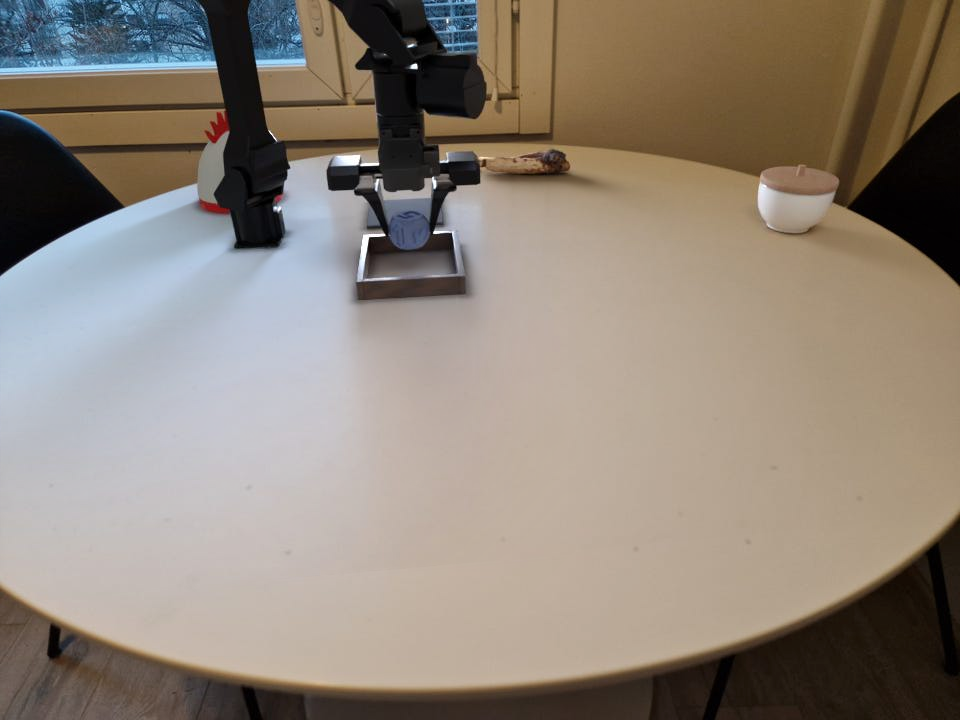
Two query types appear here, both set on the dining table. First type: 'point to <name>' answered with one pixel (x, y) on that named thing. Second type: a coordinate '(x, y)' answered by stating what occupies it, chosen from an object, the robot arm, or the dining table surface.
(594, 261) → the dining table surface
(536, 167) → the overripe banana
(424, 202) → the mat
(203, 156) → the kitchen timer
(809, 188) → the trinket box
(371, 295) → the rectangular frame
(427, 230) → the decorative dice
